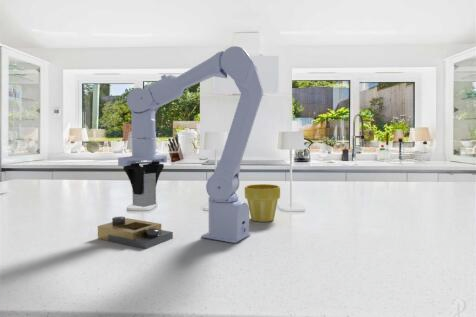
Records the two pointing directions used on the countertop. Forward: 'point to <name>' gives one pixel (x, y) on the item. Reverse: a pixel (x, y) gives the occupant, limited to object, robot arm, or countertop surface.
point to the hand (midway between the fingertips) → (144, 192)
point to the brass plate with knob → (133, 232)
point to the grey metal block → (146, 191)
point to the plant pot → (262, 201)
